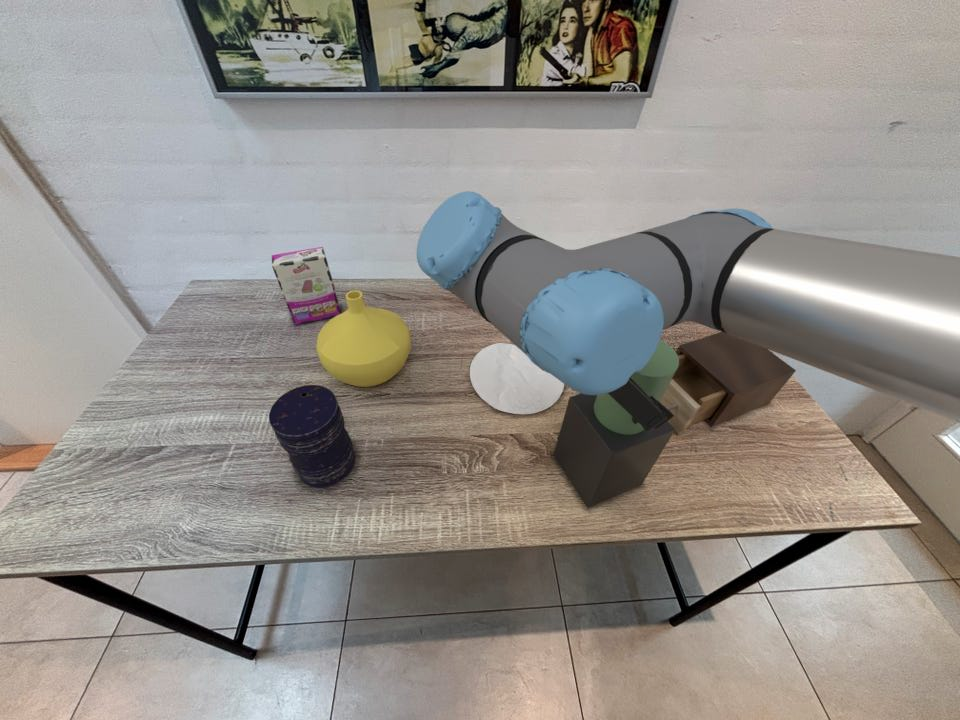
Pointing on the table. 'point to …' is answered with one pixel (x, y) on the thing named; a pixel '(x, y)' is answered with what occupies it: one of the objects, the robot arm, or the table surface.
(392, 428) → the table surface
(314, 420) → the dark blue cylinder
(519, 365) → the plaque
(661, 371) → the tin
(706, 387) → the drawer
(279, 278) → the candy bar box
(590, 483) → the riser
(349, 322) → the vase
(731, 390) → the cabinet
